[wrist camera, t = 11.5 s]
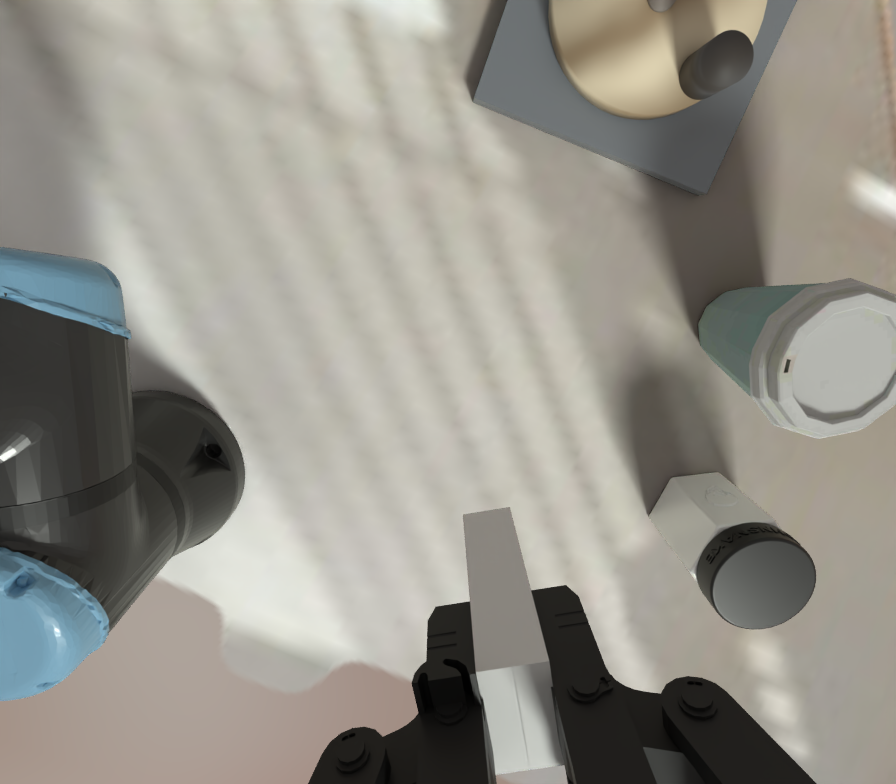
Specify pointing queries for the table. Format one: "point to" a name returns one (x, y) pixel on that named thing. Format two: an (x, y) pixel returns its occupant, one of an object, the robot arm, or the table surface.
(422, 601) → the table surface
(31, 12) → the table surface
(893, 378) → the disposable coffee cup
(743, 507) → the jar
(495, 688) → the robot arm
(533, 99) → the tuner base
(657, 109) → the dial
